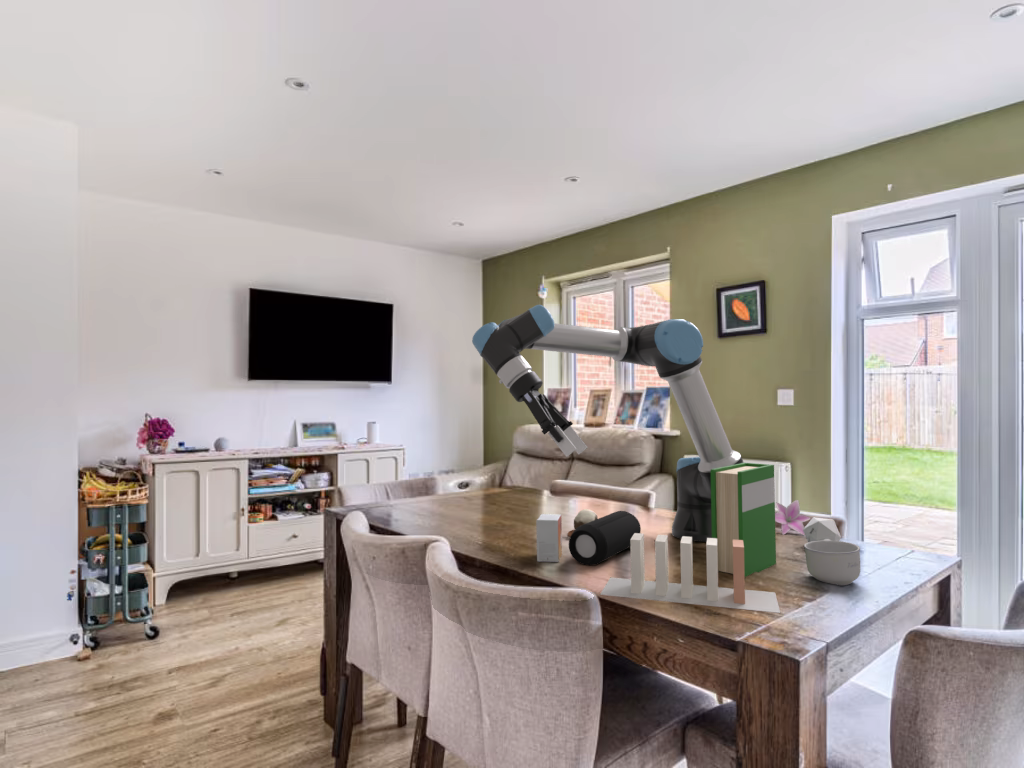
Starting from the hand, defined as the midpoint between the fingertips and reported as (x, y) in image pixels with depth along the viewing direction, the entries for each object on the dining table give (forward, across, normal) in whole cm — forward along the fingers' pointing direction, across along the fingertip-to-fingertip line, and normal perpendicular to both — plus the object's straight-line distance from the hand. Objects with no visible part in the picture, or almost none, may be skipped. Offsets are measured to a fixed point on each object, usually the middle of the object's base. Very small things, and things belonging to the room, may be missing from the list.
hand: (577, 452), depth 133 cm
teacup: (+56, -18, +24) cm, 63 cm away
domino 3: (+37, +2, 0) cm, 37 cm away
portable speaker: (+23, -25, -15) cm, 37 cm away
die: (+56, -46, +28) cm, 78 cm away
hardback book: (+44, -22, +10) cm, 50 cm away
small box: (+15, -19, -26) cm, 35 cm away
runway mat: (+37, +2, 0) cm, 37 cm away
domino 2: (+34, +2, -4) cm, 34 cm away
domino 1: (+30, +2, -8) cm, 31 cm away
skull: (+17, -46, -21) cm, 53 cm away
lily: (+52, -64, +24) cm, 85 cm away
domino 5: (+43, +2, +8) cm, 44 cm away
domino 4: (+40, +2, +4) cm, 40 cm away
